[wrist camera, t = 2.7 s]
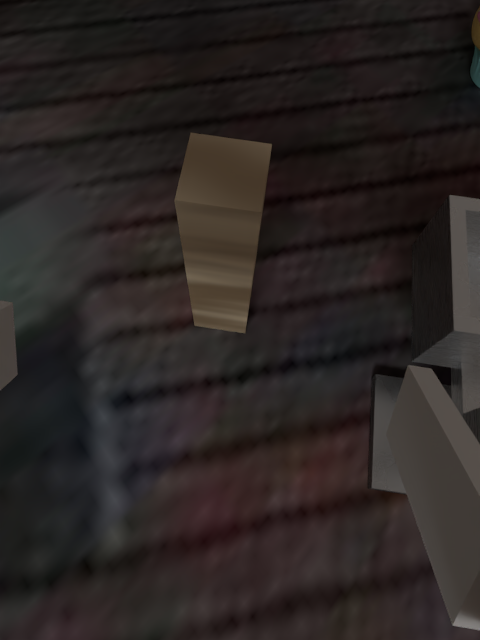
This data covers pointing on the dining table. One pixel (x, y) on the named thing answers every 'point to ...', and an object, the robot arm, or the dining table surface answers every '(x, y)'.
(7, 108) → the dining table surface
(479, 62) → the cupcake
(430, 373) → the robot arm
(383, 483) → the bracket
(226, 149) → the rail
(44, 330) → the dining table surface
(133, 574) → the dining table surface
